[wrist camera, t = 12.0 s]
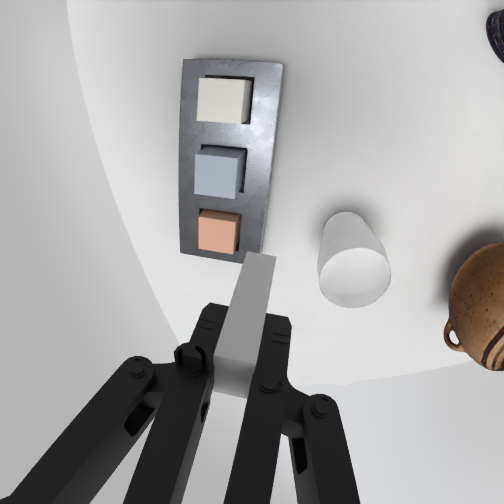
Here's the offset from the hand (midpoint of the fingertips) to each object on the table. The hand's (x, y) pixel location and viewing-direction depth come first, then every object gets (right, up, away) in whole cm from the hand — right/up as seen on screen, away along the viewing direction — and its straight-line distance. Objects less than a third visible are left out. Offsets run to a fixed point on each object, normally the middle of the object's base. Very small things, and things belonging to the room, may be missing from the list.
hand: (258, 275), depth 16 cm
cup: (+14, +4, +27) cm, 31 cm away
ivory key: (-3, +20, +17) cm, 27 cm away
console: (-3, +14, +24) cm, 28 cm away
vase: (+40, -2, +26) cm, 48 cm away
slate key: (-4, +13, +22) cm, 26 cm away
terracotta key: (-4, +6, +29) cm, 30 cm away
